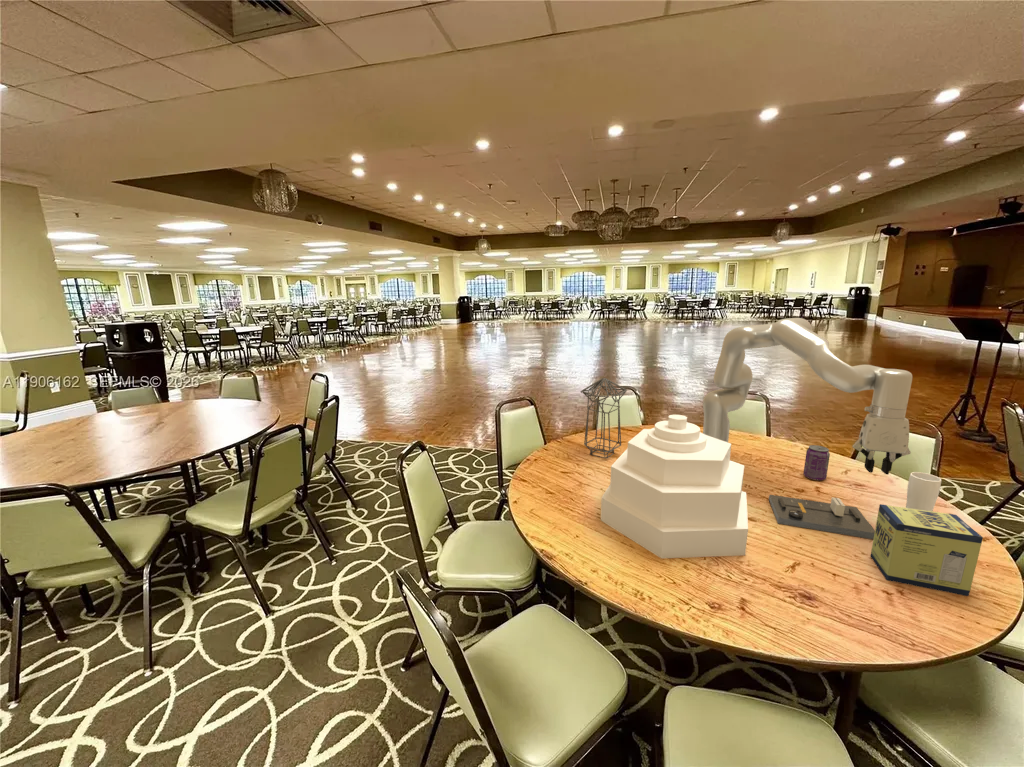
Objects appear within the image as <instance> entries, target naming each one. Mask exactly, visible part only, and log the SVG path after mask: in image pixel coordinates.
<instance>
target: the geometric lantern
mask: <svg viewBox="0 0 1024 767" xmlns="http://www.w3.org/2000/svg"><path fill="white" fill-rule="evenodd" d="M603 384H604V385H603ZM615 386H617V387H618V388H616V387H615ZM598 388H599V389H598ZM597 389H598V391H597ZM601 389H603V390H604V391H605V392H606V395H599V393H600V390H601ZM590 391H591V392H590ZM596 391H597V393H596ZM614 391H615V392H614ZM627 391H628V390H627V389H626V388H625V387H623V386H620V385H619V384H617V383H615V382H613V381H612V380H610V379H608V378H606V377H603V378H600V379H599V380H597V381H595V382H594V383H592V384H590V385H588V386H587V387H585V388H583V389H582V390H580V393H581V394H583V395H584V396H585V397H587V406H586V409H587V412H586V414H587V415H586V424H585V433H584V441H583V442H584V443H583V444H584V446H585V447H586V449H589V451H590V452H589V455H591V456H593V457H597V458H602V459H608V458H610V457H611V456H612V455H614V454H615V450H616V449H618V448H619V447H621V446H622V435H621V434H622V433H621V430H622V429H621V410H620V408H621V406H620V400H621V399H622V397H624V395H625V394H626V393H627ZM595 393H596V395H595ZM592 397H595V400H594V399H592ZM610 397H611V399H612V400H613V404H610V403H609V404H608V403H605V401H606V400H607V399H608V398H610ZM598 398H601V399H598ZM601 401H602V402H601ZM590 402H591V404H589V403H590ZM595 402H596V403H595ZM593 403H594V404H593ZM616 403H617V405H615V404H616ZM589 405H590V406H589ZM595 405H597V410H596V409H593V408H592V409H591V407H594V406H595ZM604 405H606V406H609V407H610V406H611V408H610V409H609V411H607V412H606V411H605V409H604ZM614 407H615V409H613V408H614ZM600 409H601V411H600ZM612 409H613V410H612ZM589 411H593V412H596V413H597V414H596V427H595V436H594V438H592V439H591V440H589V441H588V434H589V432H588V431H589V415H590V414H589V413H590V412H589ZM615 411H617V441H616V440H613V439H611V429H610V428H611V427H610V426H611V424H610V420H611V419H610V413H612V412H615ZM599 413H601V421H600V422H601V425H600V428H601V429H600V430H601V431H600V437H598V425H599ZM606 414H607V420H608V421H607V423H608V424H607V425H608V426H607V427H608V438H605V437H606V436H605V433H606V430H605V428H606ZM597 439H599V444H598V440H597ZM605 440H606V441H608V446H607V445H605ZM593 441H595V442H596V445H595V446H594V447H592V446H589V445H588V444H590V443H591V442H593ZM601 442H603V443H602V445H601ZM611 442H612V443H616V444H615V445H614V446H613V447H612V446H611ZM601 447H602V448H601ZM605 448H607V449H608V450H606V449H605ZM594 453H596V454H594ZM597 453H598V454H601V455H604V456H600V455H597ZM610 453H611V454H610ZM609 454H610V455H609Z"/></svg>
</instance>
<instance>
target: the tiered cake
mask: <svg viewBox="0 0 1024 767" xmlns="http://www.w3.org/2000/svg"><path fill="white" fill-rule="evenodd" d="M667 418H668V419H667V420H660V421H657V422H656V423H654V427H652V428H643V429H642V430H641V431H640V432H639V433H637V434H636V435H635V436H634V437H632V438H631V439H630V440H629V441H627V448H626V449H625V450H624V452H623V453H622V454H621V455H620V456H619V457H618V458H617V459H616V460H615V461H614V462H613V463H612V464H611V466H610V484H609V485H608V487H607V488H606V490H604V493H603V494H602V495H601V503H600V504H601V505H600V509H601V510H600V521H601V522H602V523H604V524H606V525H608V526H609V527H610V528H612V529H614V530H615V531H617V532H618V533H619V534H622V535H623V536H625V537H626V538H628V539H630V540H631V541H632V542H634V543H636V544H637V545H639V546H641V547H643V548H644V549H645V550H647V551H649V552H650V553H652V554H653V555H655V556H657V557H658V558H660V559H680V558H681V559H682V558H683V559H685V558H708V557H710V558H711V557H734V556H735V557H736V556H746V552H747V551H746V550H747V542H748V541H747V540H748V534H749V533H748V532H749V520H748V517H749V516H748V504H747V502H748V501H747V492H746V491H743V481H744V471H745V465H744V464H741V463H739V462H735V461H732V460H731V452H732V451H731V449H732V443H731V442H729V441H728V442H725V441H722V440H719V439H716V438H713V437H710V436H708V435H705V434H703V432H701V428H700V427H699V426H698V425H696V424H695V423H691V422H688V417H687V416H686V415H681V414H670V415H668V417H667Z"/></svg>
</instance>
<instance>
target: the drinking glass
mask: <svg viewBox="0 0 1024 767" xmlns="http://www.w3.org/2000/svg"><path fill="white" fill-rule="evenodd" d="M941 484H942V478H940V477H938V476H936V475H933V474H931V473H927V472H919V471H913V472H910V474H909V478H908V482H907V489H906V490H907V491H906V504H905V505H906V506H905V508H910V509H917V510H925V511H932V512H934V508H935V505H936V502H937V500H938V497H939V494H940V490H941V486H942V485H941Z"/></svg>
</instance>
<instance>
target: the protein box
mask: <svg viewBox="0 0 1024 767" xmlns="http://www.w3.org/2000/svg"><path fill="white" fill-rule="evenodd" d="M877 511H878V512H877V518H876V523H875V528H874V530H875V534H874V539H872V540H873V541H872V544H871V550H870V551H871V552H870V559H871V560H872V561H873V562H874V564H875V565H876V567H877V568H878V570H879V571H880V572H881V574H882V576H883V577H884V580H886V581H890V582H894V583H899V584H905V585H910V586H913V587H919V588H924V589H928V590H929V589H930V590H935V591H939V592H944V593H950V594H955V595H960V596H965V597H969V596H970V592H971V588H972V585H973V580H974V576H975V572H976V569H977V564H978V560H979V556H980V552H981V547H982V543H983V538H984V537H983V536H982V535H981V534H980V533H979V532H978V531H976V530H975V529H973V528H972V527H971V526H970V525H968V524H967V523H966V521H964V520H963V519H962V518H961V517H960V516H958V515H957V514H955V513H946V512H938V511H925V510H917V509H910V508H906V507H903V506H902V507H901V506H894V505H890V504H889V505H888V504H883V503H882V504H879V506H878V510H877Z"/></svg>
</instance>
